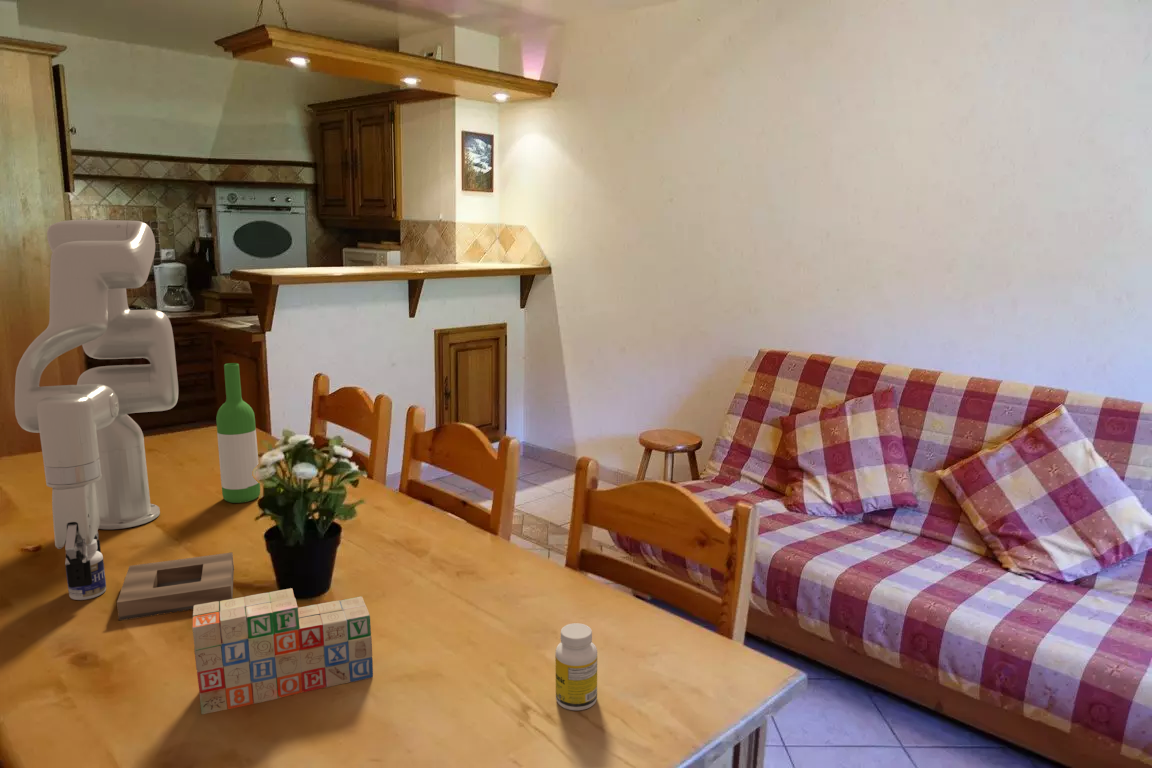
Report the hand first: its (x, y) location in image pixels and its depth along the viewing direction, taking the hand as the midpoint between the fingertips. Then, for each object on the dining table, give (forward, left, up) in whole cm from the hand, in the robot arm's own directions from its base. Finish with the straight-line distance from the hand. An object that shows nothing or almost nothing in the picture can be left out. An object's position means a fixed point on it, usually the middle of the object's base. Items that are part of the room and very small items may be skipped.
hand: (85, 573), depth 131 cm
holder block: (+5, +14, -3) cm, 15 cm away
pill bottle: (0, 0, -4) cm, 4 cm away
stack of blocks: (+39, +30, -4) cm, 49 cm away
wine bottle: (-40, +23, -4) cm, 46 cm away
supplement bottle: (+56, +64, -4) cm, 85 cm away
